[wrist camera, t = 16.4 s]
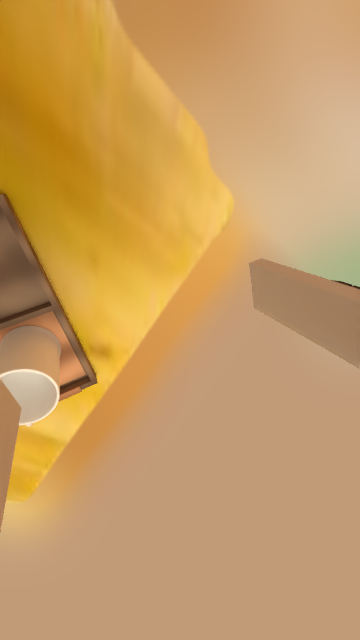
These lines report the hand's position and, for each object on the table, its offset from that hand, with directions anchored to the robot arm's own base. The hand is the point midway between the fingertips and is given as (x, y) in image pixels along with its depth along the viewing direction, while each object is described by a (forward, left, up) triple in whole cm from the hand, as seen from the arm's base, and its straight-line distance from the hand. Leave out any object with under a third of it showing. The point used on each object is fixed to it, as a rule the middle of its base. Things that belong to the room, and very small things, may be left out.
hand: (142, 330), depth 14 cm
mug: (+14, -15, -31) cm, 37 cm away
